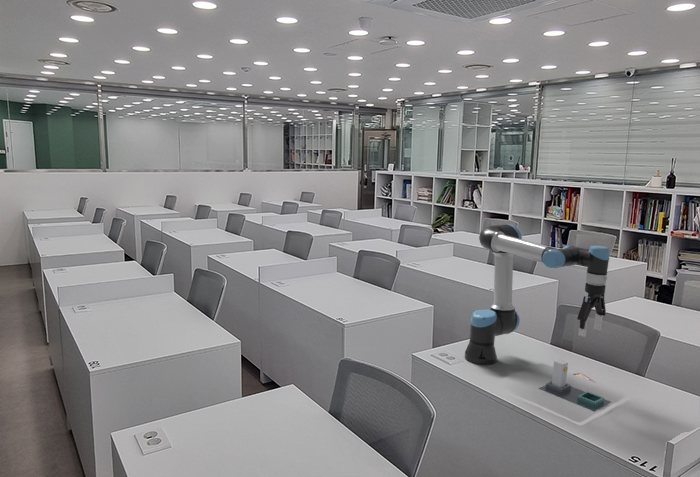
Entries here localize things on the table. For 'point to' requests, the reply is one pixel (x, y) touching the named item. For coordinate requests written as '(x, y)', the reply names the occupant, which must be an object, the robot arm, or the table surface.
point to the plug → (559, 373)
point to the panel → (576, 396)
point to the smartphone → (583, 376)
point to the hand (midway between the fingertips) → (589, 332)
